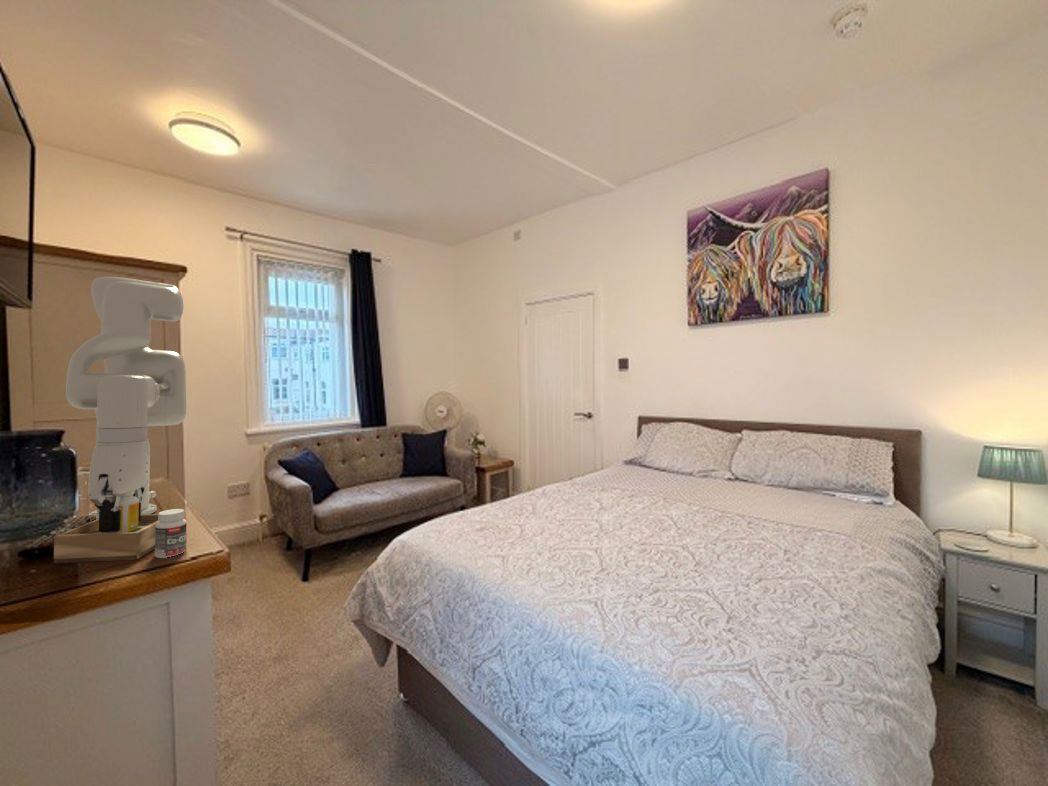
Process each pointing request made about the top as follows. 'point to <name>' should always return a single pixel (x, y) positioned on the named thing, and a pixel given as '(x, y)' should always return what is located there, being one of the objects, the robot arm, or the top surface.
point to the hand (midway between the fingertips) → (120, 525)
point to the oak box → (105, 542)
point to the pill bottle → (170, 533)
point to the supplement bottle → (127, 512)
